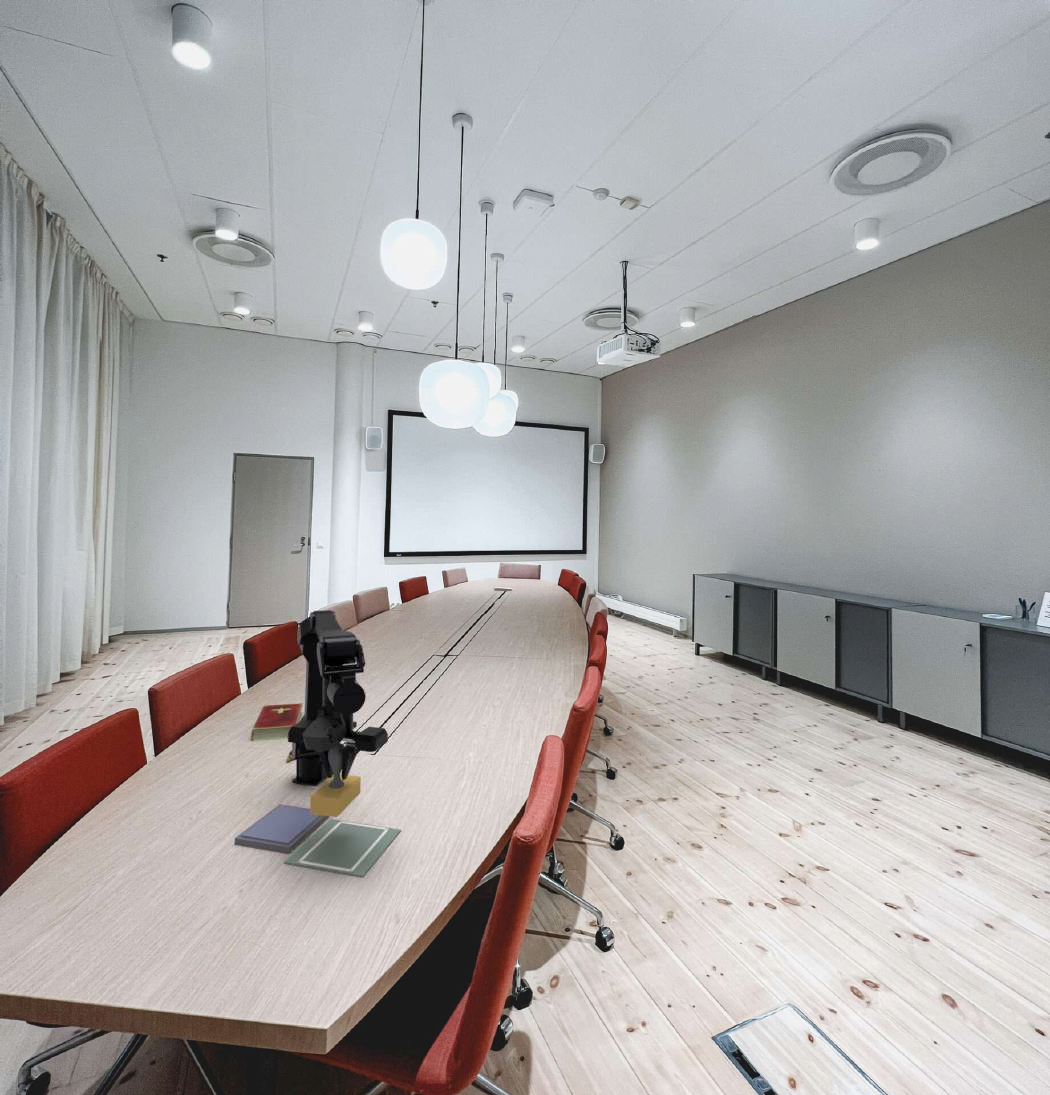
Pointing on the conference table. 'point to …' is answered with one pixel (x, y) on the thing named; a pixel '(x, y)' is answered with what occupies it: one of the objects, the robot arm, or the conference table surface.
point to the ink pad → (281, 829)
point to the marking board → (344, 847)
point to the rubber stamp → (335, 788)
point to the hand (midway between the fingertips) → (337, 778)
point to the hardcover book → (276, 721)
